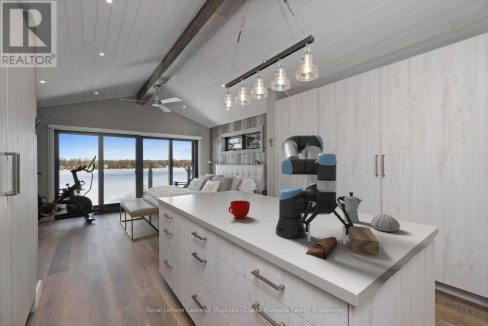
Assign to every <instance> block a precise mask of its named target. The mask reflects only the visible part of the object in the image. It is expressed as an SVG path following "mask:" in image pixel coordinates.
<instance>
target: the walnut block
mask: <svg viewBox="0 0 488 326" xmlns="http://www.w3.org/2000/svg"><path fill="white" fill-rule="evenodd" d="M347 238H348V241H349V244H350V248H351V251H352V253H354V254H360V255H369V256H374V257H379V247H380V246H379V245H380V242H379V240H378V238H377V237H376V235H375V234H374V233H373V231H372V229H371V228H370V227H369V226H368V227H367V226H357V225H354V226H353V227H349V235H348V236H347Z"/></svg>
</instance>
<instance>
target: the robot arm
mask: <svg viewBox="0 0 488 326" xmlns="http://www.w3.org/2000/svg"><path fill="white" fill-rule="evenodd" d="M322 138H323V137H321V135H317V134H312V135H304V134H303V135H302V134H301V135H293V136H289V137H287V138H286V139H285V140H284V141H283V142H282V143H281V144H282V145H281V151H282V153H283V158H282V159H281V163H280V164H281V165H280V169H281V171H280V173H281V174H283V175H288V176H296V175H297V176H303V175H304V176H306V183H307V186H306V187H305V190H303V188H302V187H287V188H286V187H285V188H283V189H281V190H280V191H279V197H278V200H279V203H278V208H279V209H278V220H277V224H276V226H275V234H276V235H277V236H279V237H281V238H285V239H291V240H292V239H295V240H296V239H302V238H304V237H306V236H307V241H308V242H311V222H312V221H313V220H314V219H315V218H316V217H317V216H318V215H320V216H321V215H322V216H323V215H331V214H333V215H334V216H335V217H336V218H337V219H338V220H339V222H341V224H342V225H343V226H342V227H341V229H342V231H341V232H342V233H341V234H342V237H341V239H342V241H341V242H342V244H343V245H346V244H347V238H346V237H348V235H349V227H353V226H355V224H354V223H352V221H351V219H350V217H349V215H348V213H347V211H346V208H345V203H344V202H343V201H342V202H341V201H340V203H338V201H337V163H338V162H337V155H336V153H323V152H324V141H323V139H322ZM299 154H300V155H301V156H302V158H300V156H299ZM337 208H339V209H340V210H341V212H342V213H343V215H345V217H346V219H347V221H348V222H346V221H344V218H342V216H341V215H340V214H339V213H338V212H337V211H336V209H337ZM309 215H310V216H309Z"/></svg>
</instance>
